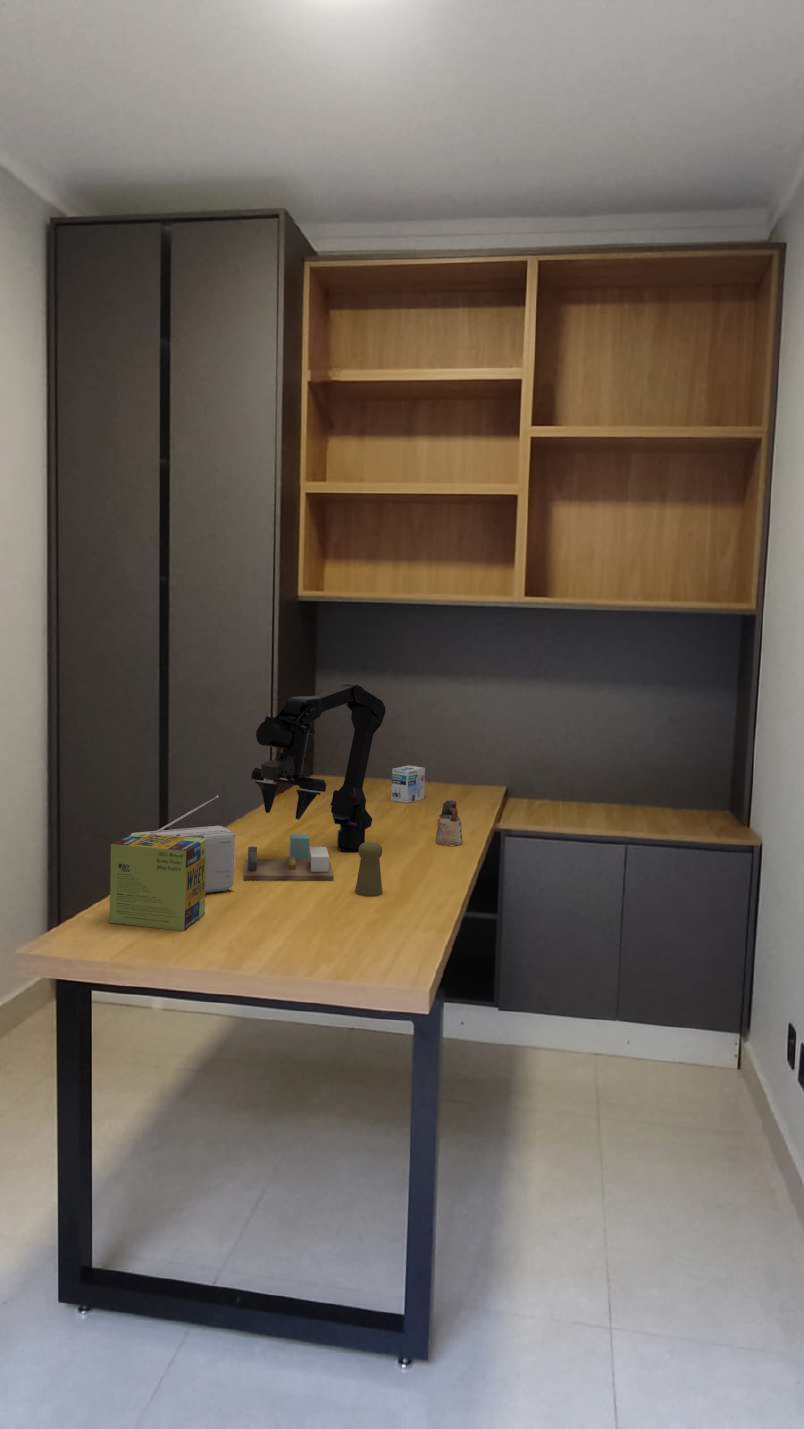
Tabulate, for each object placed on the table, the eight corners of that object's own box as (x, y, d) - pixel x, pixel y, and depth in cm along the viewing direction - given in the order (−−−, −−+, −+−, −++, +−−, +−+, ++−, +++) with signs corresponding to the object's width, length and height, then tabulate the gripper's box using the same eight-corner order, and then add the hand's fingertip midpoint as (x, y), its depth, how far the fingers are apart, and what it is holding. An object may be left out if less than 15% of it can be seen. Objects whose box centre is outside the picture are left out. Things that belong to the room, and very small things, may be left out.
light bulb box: (407, 803, 306) (408, 770, 305) (390, 800, 310) (391, 768, 309) (424, 799, 315) (426, 767, 314) (407, 796, 319) (409, 764, 318)
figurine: (456, 839, 259) (458, 796, 258) (466, 845, 253) (468, 801, 251) (432, 840, 257) (434, 797, 256) (441, 846, 250) (443, 802, 249)
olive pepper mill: (384, 896, 204) (386, 846, 203) (356, 896, 203) (358, 846, 202) (380, 888, 210) (382, 839, 209) (353, 888, 209) (355, 839, 208)
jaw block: (307, 857, 233) (308, 834, 233) (308, 862, 229) (309, 838, 228) (289, 857, 233) (290, 834, 232) (290, 862, 228) (290, 838, 228)
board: (328, 864, 228) (329, 843, 228) (333, 880, 214) (334, 858, 214) (244, 864, 225) (245, 842, 224) (244, 880, 211) (244, 857, 211)
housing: (325, 861, 225) (326, 847, 225) (328, 871, 216) (329, 856, 216) (308, 861, 225) (309, 846, 224) (310, 871, 216) (311, 856, 215)
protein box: (185, 931, 177) (186, 850, 175) (108, 923, 179) (109, 843, 178) (206, 914, 187) (208, 837, 185) (133, 907, 190) (134, 831, 188)
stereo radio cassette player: (137, 904, 191) (139, 807, 189) (126, 893, 198) (127, 800, 196) (235, 892, 202) (237, 800, 200) (221, 882, 209) (223, 793, 207)
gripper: (241, 742, 222) (229, 808, 221) (303, 752, 212) (291, 821, 211) (271, 746, 231) (260, 810, 230) (332, 757, 221) (321, 823, 220)
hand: (282, 816), depth 223 cm, fingers open, 9 cm apart
